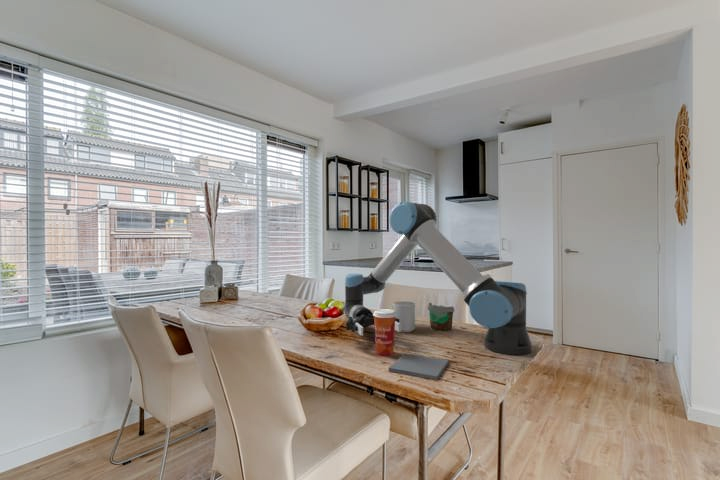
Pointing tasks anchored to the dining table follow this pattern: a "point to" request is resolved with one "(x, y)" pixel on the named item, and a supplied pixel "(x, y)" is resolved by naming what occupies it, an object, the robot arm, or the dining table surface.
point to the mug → (405, 315)
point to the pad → (419, 366)
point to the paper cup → (384, 331)
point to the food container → (440, 317)
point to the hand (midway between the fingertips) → (381, 329)
